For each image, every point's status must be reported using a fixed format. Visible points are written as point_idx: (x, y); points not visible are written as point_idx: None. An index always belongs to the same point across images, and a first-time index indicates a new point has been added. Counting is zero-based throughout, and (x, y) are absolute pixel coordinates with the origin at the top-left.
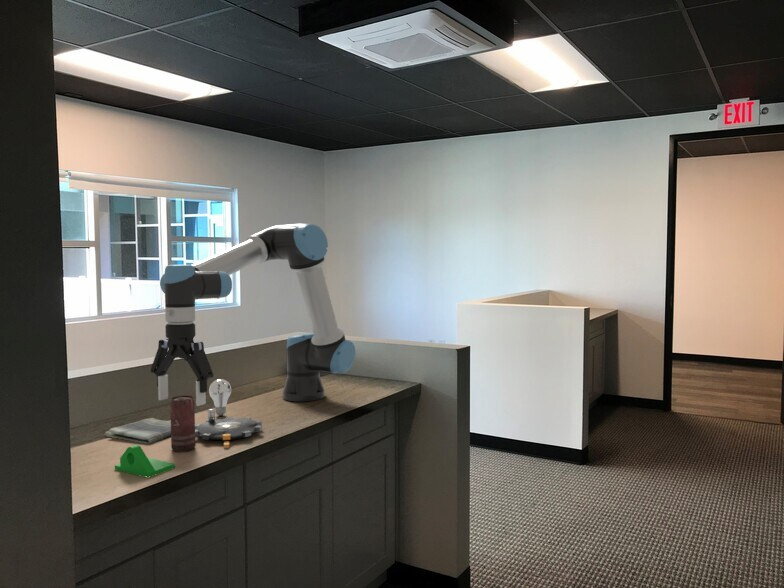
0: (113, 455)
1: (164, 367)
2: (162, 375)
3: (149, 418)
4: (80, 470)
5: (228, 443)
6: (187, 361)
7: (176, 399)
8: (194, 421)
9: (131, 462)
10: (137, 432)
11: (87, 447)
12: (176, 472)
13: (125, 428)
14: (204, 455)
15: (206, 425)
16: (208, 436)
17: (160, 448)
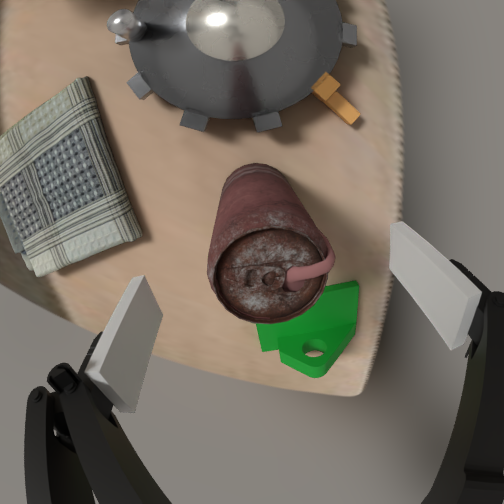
0: (172, 317)
1: (134, 458)
2: (103, 392)
3: None
4: (218, 372)
5: (353, 109)
6: (434, 485)
7: (251, 296)
8: (294, 194)
9: (306, 349)
10: (80, 242)
11: (89, 318)
12: (377, 289)
13: (32, 240)
14: (350, 192)
15: (167, 64)
16: (281, 124)
17: (199, 232)
